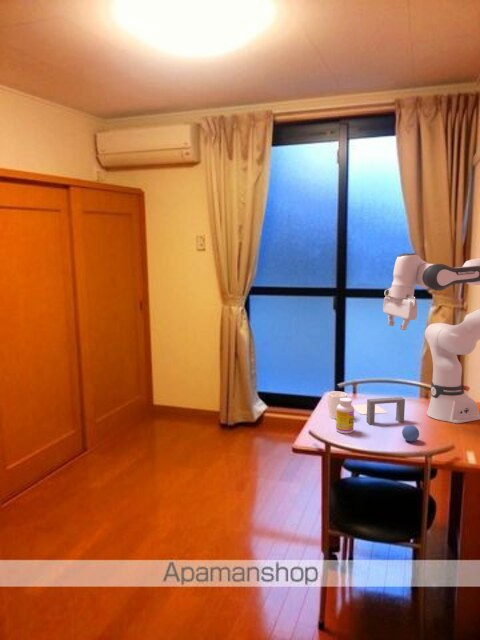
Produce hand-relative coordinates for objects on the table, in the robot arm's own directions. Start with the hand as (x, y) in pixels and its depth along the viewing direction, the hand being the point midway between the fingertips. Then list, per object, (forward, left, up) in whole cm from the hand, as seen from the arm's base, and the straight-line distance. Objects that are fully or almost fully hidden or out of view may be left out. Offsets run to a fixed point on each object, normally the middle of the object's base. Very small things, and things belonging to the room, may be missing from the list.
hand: (397, 327), depth 198 cm
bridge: (+4, +2, -39) cm, 39 cm away
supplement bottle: (+24, +8, -39) cm, 47 cm away
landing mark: (+4, -14, -39) cm, 42 cm away
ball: (+4, +22, -36) cm, 42 cm away
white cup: (+21, -8, -39) cm, 45 cm away
